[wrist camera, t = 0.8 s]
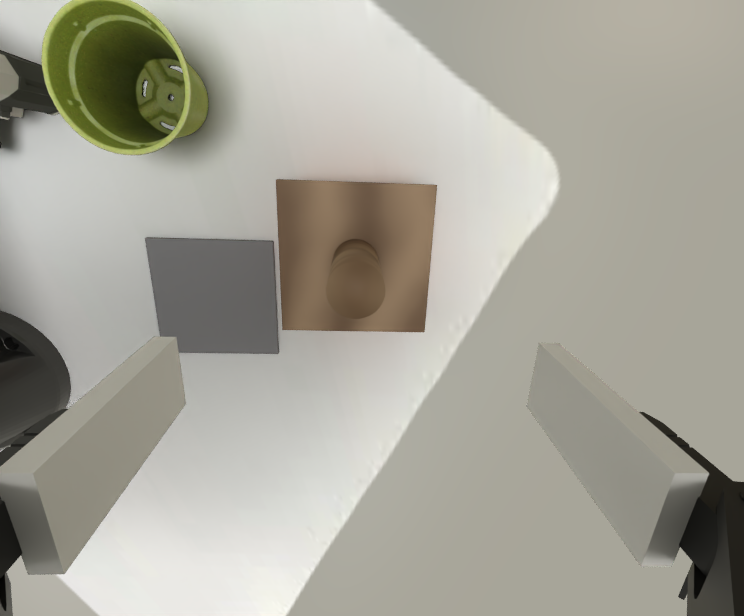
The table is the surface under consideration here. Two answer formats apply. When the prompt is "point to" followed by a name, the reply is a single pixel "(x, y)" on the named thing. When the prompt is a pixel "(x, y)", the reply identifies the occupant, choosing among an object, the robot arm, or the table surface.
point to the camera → (22, 87)
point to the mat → (215, 294)
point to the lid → (354, 254)
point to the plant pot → (120, 77)
